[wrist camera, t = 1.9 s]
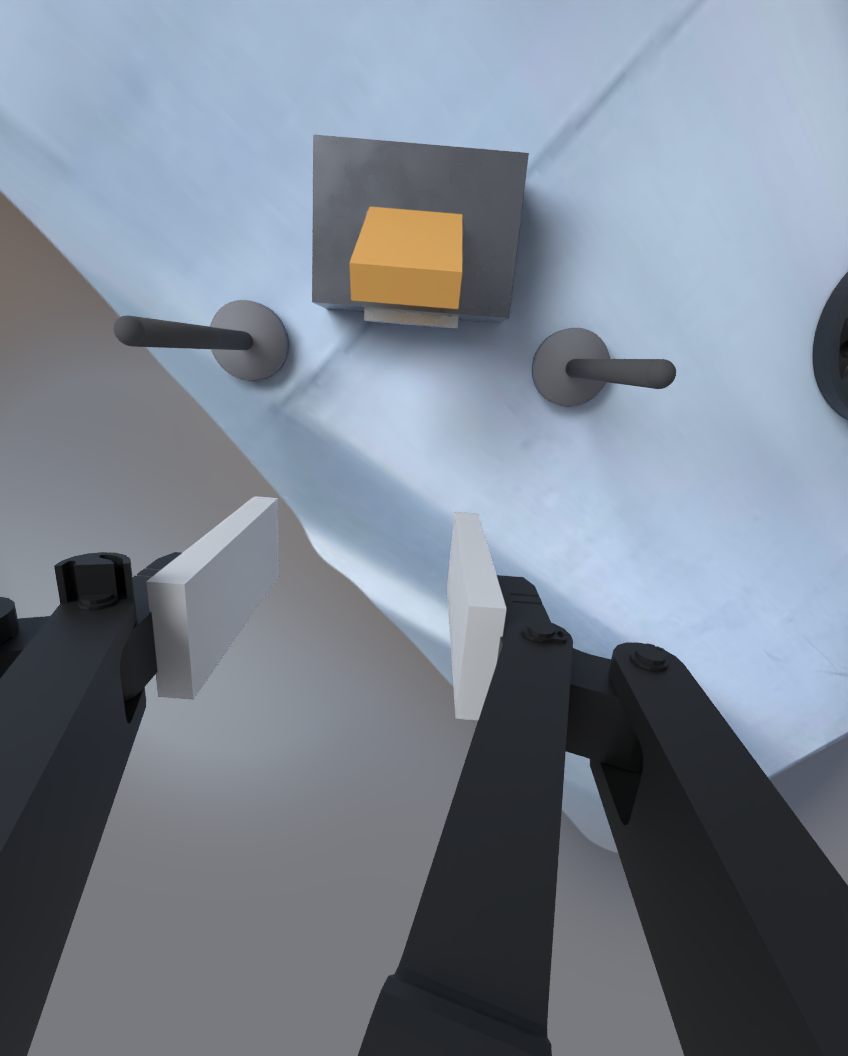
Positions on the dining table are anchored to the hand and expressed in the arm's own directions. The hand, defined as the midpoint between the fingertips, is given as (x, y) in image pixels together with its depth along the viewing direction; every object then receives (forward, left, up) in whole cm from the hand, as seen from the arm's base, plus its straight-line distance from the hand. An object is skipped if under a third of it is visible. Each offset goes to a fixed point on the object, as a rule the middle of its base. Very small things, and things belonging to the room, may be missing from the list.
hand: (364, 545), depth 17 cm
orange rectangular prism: (+7, -12, -23) cm, 27 cm away
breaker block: (+7, -12, -29) cm, 32 cm away
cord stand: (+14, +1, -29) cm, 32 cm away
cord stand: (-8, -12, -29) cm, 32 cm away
